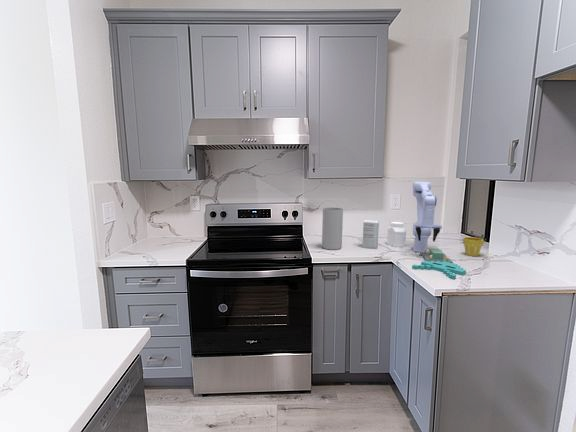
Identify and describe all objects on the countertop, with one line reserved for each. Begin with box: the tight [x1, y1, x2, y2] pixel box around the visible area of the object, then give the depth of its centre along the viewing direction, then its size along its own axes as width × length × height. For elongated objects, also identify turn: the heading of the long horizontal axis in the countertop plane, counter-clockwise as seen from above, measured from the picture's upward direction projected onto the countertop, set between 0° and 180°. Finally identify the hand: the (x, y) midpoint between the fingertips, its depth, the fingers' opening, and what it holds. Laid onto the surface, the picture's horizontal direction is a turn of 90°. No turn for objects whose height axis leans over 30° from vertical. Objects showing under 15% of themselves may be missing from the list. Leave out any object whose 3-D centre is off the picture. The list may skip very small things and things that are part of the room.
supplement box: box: [361, 219, 380, 250], centre depth 197 cm, size 10×9×17 cm
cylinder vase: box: [321, 207, 344, 251], centre depth 193 cm, size 12×12×25 cm
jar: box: [386, 221, 407, 248], centre depth 202 cm, size 12×10×15 cm
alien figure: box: [411, 260, 467, 280], centre depth 152 cm, size 20×2×20 cm
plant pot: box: [462, 236, 484, 257], centre depth 180 cm, size 10×10×10 cm
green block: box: [428, 247, 445, 260], centre depth 172 cm, size 11×5×4 cm, turn 167°
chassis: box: [419, 248, 454, 263], centre depth 172 cm, size 18×13×4 cm
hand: (426, 240), depth 174 cm, fingers open, 7 cm apart
